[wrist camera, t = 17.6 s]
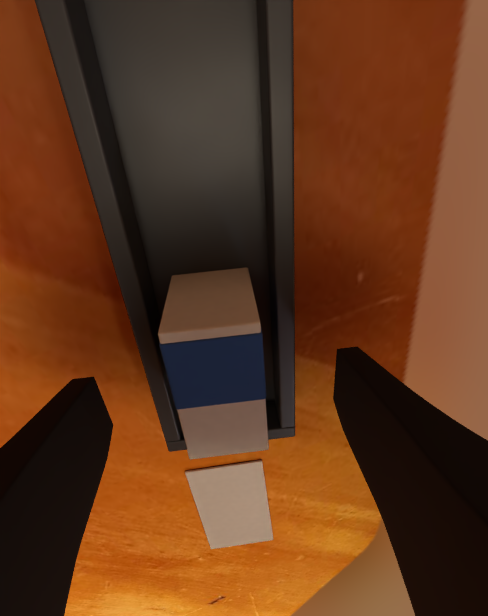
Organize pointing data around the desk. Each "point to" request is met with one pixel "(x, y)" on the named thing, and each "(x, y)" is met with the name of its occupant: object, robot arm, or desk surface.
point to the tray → (188, 160)
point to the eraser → (215, 362)
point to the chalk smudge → (232, 503)
